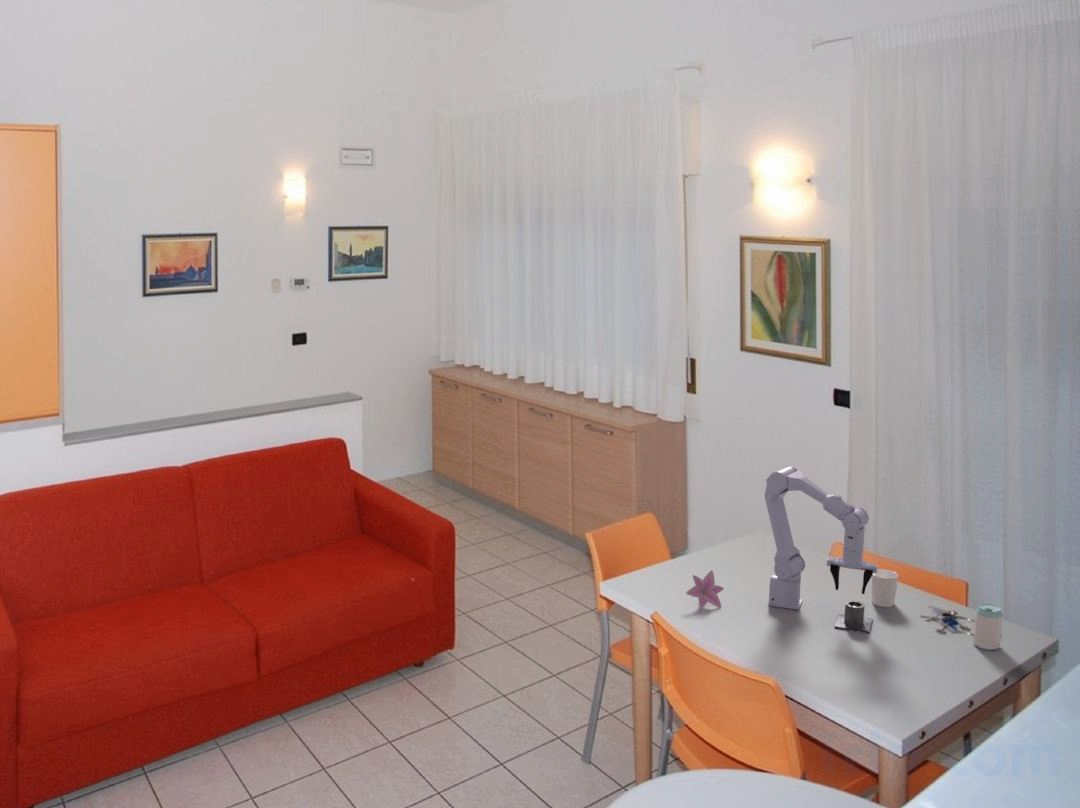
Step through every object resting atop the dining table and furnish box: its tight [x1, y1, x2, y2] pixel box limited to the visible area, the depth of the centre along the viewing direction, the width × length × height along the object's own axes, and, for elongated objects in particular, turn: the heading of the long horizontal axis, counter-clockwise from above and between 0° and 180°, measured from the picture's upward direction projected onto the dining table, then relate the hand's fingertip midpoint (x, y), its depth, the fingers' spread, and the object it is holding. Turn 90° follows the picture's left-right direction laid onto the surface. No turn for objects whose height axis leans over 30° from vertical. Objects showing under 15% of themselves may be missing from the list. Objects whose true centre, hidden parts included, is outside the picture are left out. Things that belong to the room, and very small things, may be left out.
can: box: [972, 603, 1004, 651], centre depth 290 cm, size 7×7×12 cm
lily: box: [685, 570, 725, 610], centre depth 321 cm, size 12×12×10 cm
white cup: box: [871, 568, 899, 608], centre depth 321 cm, size 8×8×10 cm
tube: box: [844, 599, 866, 627], centre depth 305 cm, size 5×5×6 cm
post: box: [834, 605, 873, 634], centre depth 306 cm, size 10×10×6 cm
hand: (850, 590), depth 306 cm, fingers open, 7 cm apart
